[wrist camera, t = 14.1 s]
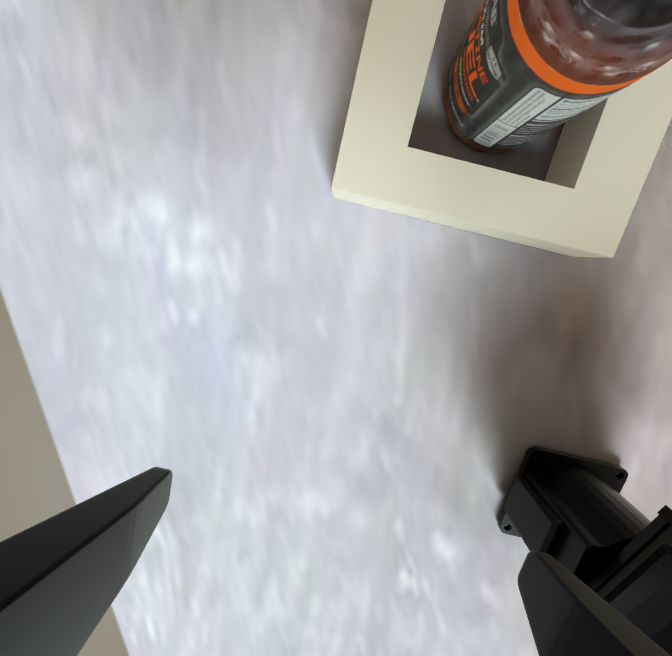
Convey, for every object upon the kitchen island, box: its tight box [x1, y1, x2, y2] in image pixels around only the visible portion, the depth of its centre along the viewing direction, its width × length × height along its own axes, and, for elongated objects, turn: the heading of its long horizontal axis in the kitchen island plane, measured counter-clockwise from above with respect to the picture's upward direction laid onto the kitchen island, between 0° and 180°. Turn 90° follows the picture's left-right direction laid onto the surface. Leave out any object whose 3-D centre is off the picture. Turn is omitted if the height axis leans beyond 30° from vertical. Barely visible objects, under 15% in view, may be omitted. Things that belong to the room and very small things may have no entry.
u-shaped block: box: [331, 0, 672, 258], centre depth 16 cm, size 14×11×3 cm
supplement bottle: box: [444, 0, 672, 153], centre depth 12 cm, size 6×6×11 cm
